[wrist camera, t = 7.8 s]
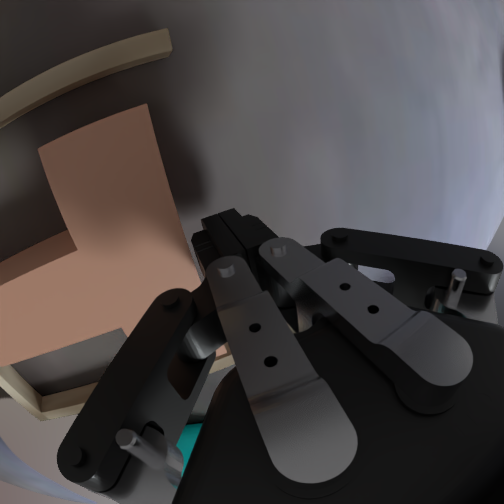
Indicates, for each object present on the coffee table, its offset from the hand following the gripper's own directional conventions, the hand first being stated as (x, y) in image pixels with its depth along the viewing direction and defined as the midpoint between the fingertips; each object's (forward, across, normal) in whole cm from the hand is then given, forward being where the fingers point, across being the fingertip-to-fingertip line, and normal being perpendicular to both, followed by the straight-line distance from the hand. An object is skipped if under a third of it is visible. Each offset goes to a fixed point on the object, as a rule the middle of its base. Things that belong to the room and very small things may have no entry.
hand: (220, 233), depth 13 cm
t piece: (+2, +8, 0) cm, 8 cm away
